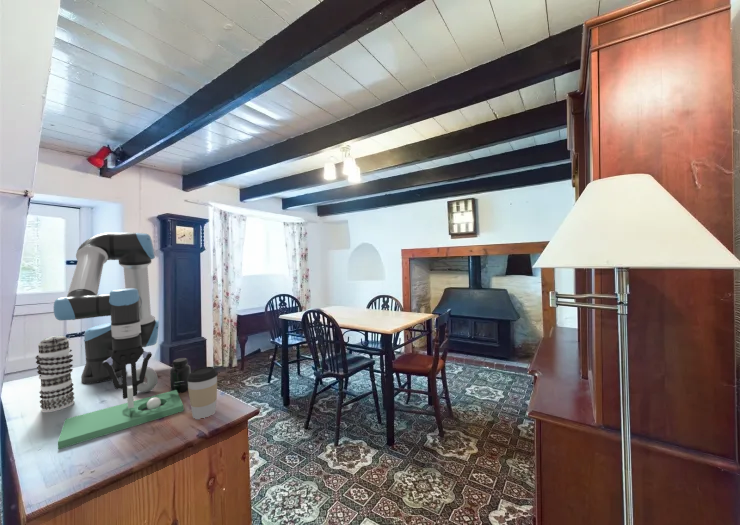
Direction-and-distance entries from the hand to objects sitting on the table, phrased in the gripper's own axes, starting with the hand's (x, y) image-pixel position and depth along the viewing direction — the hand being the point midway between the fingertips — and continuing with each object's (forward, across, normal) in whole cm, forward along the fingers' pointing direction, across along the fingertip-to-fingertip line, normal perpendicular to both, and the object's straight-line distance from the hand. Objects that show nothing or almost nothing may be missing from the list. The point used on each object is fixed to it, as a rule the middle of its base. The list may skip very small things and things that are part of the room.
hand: (130, 406), depth 101 cm
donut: (+4, +5, +20) cm, 21 cm away
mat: (+3, -1, 0) cm, 4 cm away
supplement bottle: (+4, +16, +12) cm, 20 cm away
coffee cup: (+4, +19, -15) cm, 24 cm away
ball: (+1, +6, 0) cm, 6 cm away
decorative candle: (+4, -20, +28) cm, 35 cm away
